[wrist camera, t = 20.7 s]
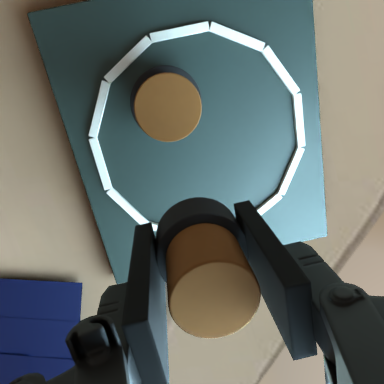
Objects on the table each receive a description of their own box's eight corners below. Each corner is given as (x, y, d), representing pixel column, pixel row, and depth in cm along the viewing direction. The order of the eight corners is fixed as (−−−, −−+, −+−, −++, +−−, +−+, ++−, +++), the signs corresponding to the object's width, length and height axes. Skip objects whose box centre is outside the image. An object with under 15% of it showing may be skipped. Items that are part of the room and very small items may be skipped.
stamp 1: (190, 59, 20) (201, 54, 15) (203, 126, 21) (216, 140, 16) (124, 73, 19) (114, 72, 15) (141, 139, 21) (137, 158, 16)
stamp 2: (231, 188, 15) (265, 237, 11) (243, 261, 17) (278, 333, 12) (146, 207, 15) (143, 265, 10) (166, 279, 17) (170, 360, 12)
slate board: (302, -40, 19) (312, -48, 18) (321, 230, 26) (329, 238, 24) (32, 15, 19) (24, 11, 18) (118, 276, 25) (116, 287, 24)
